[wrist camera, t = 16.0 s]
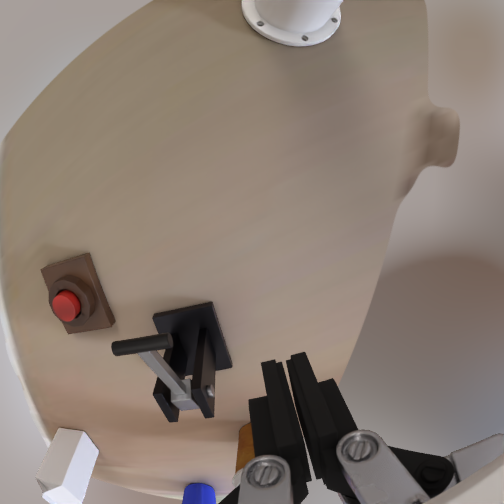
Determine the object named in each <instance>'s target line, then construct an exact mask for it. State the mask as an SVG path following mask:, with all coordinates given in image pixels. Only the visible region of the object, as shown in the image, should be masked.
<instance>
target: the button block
mask: <svg viewBox="0 0 504 504" xmlns="http://www.w3.org/2000/svg"><path fill="white" fill-rule="evenodd" d="M41 272H42V275H43V278H44V280H45V283H46V286H47V288H48V291H49V304H50V306H51V308H52V311H53V313H54V314H55V315H56V313H55V312H54V309H53V300H54V298H55V297H56V296H57V295H58V294H59V293H61V292H62V291H64V290H68V291H71V292H73V293H74V294H75V295H76V296H77V297H78V299H79V301H80V304H81V310H80V312H79V314H78V315H77V316H76V317H75V318H74V319H73V320H72V321H64V320H62V319H60V318H59V317H58V316H57V315H56V316H57V317H58V318H59V319H60V320H61V321H62V323H63V325H64V327H65V329H66V331H67V333H68V334H72V333H79V332H85V331H91V330H97V329H103V328H109V327H112V326H113V324H114V323H115V319H114V317H113V314H112V312H111V310H110V307H109V305H108V302H107V300H106V297H105V295H104V292H103V290H102V287H101V285H100V282H99V279H98V277H97V274H96V271H95V268H94V265H93V263H92V260H91V257H90V254H89V253H87V254H83V255H80V256H77V257H73V258H70V259H67V260H64V261H61V262H57V263H54V264H51V265H48V266H46V267H44V268H43V269H41Z"/></svg>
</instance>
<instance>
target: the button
mask: <svg viewBox="0 0 504 504" xmlns="http://www.w3.org/2000/svg"><path fill="white" fill-rule="evenodd" d="M53 309H54V312H55V313H56V315H57V316H58V317H59V318H60V319H62V320H64V321H72V320H73V319H74V318H75V317H76V316H77V315H78V314H79V312H80V310H81V304H80V301H79V299H78V297H77V296H76V295H75V294H74V293H73V292H71V291H68V290H64V291H62V292H61V293H59V294H58V295H57V296H56V297H55V298H54V300H53Z"/></svg>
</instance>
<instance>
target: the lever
mask: <svg viewBox="0 0 504 504" xmlns="http://www.w3.org/2000/svg"><path fill="white" fill-rule="evenodd" d="M111 347H112V352H113V354H114V355H115V356H121V355H129V354H136V353H137V354H138V355H139V356H140V357H141V358H142V359H143V361H144V362H145V363H146V364H147V365H148V366H149V367H150V368H151V369H152V371H153V372H154V373H155V374H156V375H157V376H158V377H159V378H160V379H161V380H162V381H163V382H164V383H165V384H166V385H167V386H168V387H169V388H170V389H171V402H172V403H173V404H174V405H175V406H176V407H178V408H179V409H180V410H181V411H183V410H191V409H199V408H200V407H199V405H198V403H197V401H196V399H195V397H194V395H193V393H192V391H191V384H192V380H191V379H183V380H180V378H179V377H178V376H177V375H176V374H175V372H174V371H173V370H172V369H171V368H170V366H169V365H168V364H167V363H166V362H165V360H164V359H163V358H162V357H161V355H160V354H159V353H158V352H157V350H162V349H168V348H172V347H173V339H172V336H171V334H170V333H162V334H157V335H151V336H146V337H140V338H134V339H128V340H121V341H115V342H113V343H112V346H111Z"/></svg>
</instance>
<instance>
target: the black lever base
mask: <svg viewBox="0 0 504 504" xmlns="http://www.w3.org/2000/svg"><path fill="white" fill-rule="evenodd" d="M152 319H153V321H154V324H155V326H156V328H157V331H158V333H159V334H162V333H170V334H171V336H172V339H173V347H172V348H168V349H165V353H164V357H163V359H164V360H165V362H166V363H167V364H168V365H169V366H170V368H171V369H172V370H173V371H174V372H175V374H176V375H177V376H178V377H179V378H180V380H183V379H185V376H188V375H193V377H192V384H191V391H192V393H193V395H194V397H195V399H196V401H197V403H198V405H199V407H200V409H201V411H202V413H203V415H204V417H205V418H212V417H214V401H215V371H217V370H223V369H228V368H232V361H231V358H230V355H229V352H228V349H227V346H226V343H225V340H224V337H223V334H222V330H221V327H220V324H219V321H218V318H217V315H216V312H215V308H214V305H213V302H208V303H203V304H199V305H194V306H190V307H185V308H180V309H175V310H171V311H166V312H161V313H156V314H154V315H153V318H152ZM153 396H154V398H155V399H156V401H157V403H158V405H159V406H160V408H161V410H162V411H163V413H164V415H165V416H166V418H167V419H168V421H169V422H178V417H179V410H180V409H179V408H178V407H176V406H175V405H174V404H173V403H172V402H171V389H170V388H169V387H168V386H167V385H166V384H165V383H164V382H163V381H162V380H161V379H160V378H159V377H157V381H156V384H155V388H154V391H153Z"/></svg>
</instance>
